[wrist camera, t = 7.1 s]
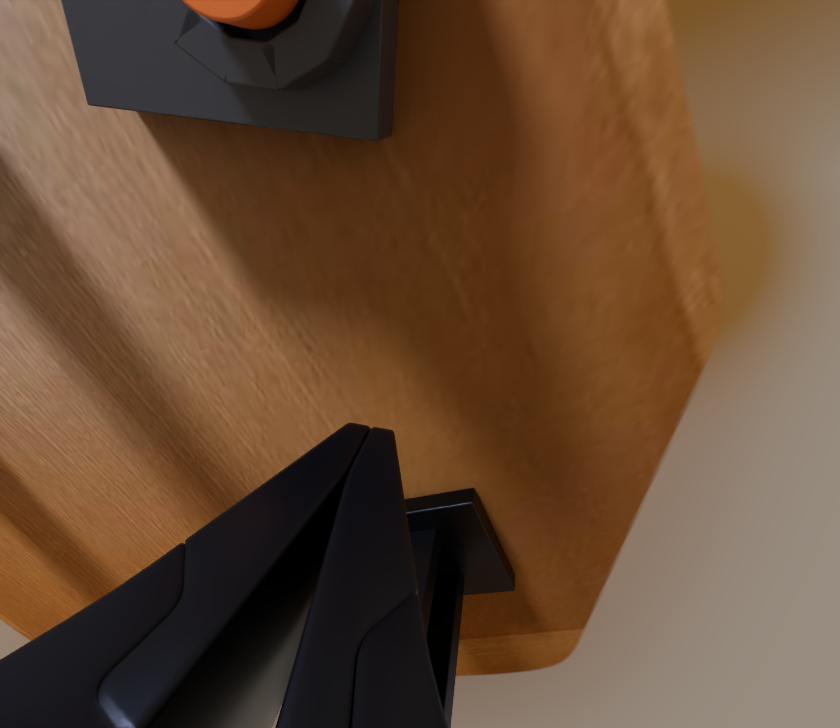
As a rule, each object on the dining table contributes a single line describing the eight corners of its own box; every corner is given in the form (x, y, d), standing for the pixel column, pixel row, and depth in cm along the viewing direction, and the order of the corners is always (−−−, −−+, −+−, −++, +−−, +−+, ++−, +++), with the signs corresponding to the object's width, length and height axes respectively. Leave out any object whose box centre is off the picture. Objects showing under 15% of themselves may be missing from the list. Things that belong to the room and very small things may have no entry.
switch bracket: (380, 587, 33) (329, 777, 24) (329, 511, 29) (246, 699, 20) (515, 574, 29) (516, 790, 20) (474, 487, 26) (453, 699, 17)
